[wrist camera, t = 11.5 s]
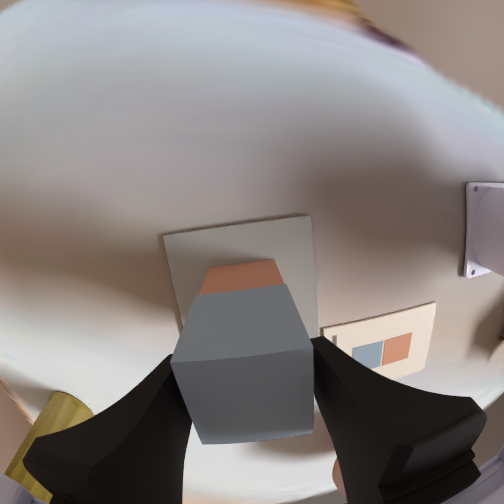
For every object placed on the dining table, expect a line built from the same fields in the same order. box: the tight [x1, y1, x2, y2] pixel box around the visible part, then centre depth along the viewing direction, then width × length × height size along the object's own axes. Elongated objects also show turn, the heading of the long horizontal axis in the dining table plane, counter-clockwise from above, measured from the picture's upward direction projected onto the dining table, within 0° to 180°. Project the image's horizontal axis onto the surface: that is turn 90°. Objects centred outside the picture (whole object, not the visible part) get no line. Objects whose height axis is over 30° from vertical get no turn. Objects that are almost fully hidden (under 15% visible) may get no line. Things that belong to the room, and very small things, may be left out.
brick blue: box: [170, 284, 314, 444], centre depth 10 cm, size 4×4×5 cm
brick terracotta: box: [199, 259, 284, 295], centre depth 15 cm, size 4×4×5 cm
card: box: [323, 302, 436, 380], centre depth 20 cm, size 10×7×1 cm
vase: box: [4, 392, 94, 504], centre depth 14 cm, size 6×6×14 cm
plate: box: [163, 215, 318, 338], centre depth 18 cm, size 9×9×1 cm
